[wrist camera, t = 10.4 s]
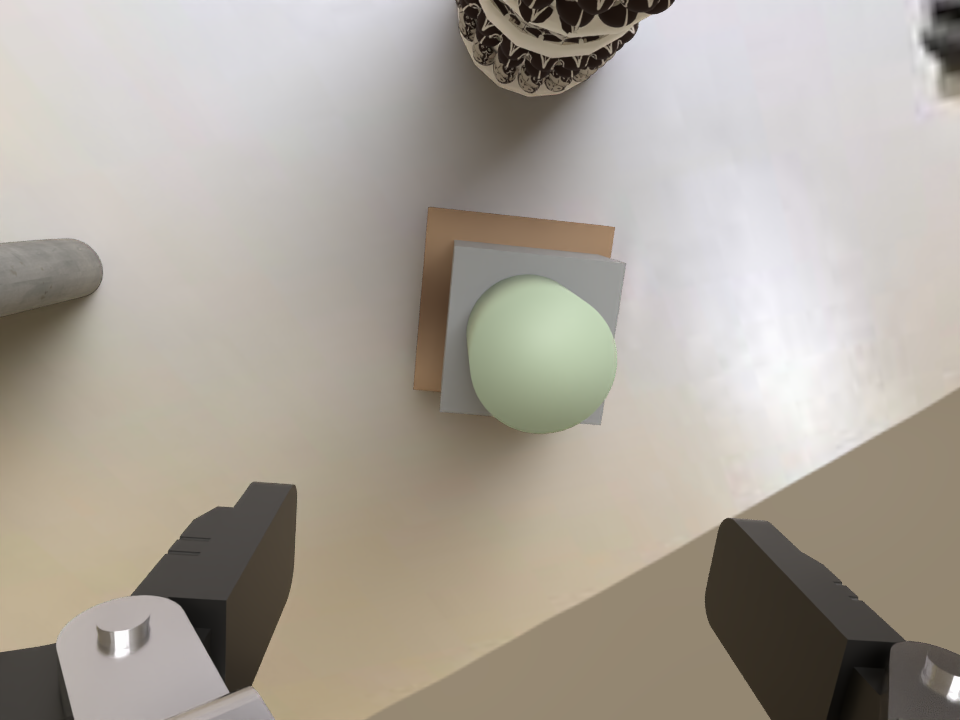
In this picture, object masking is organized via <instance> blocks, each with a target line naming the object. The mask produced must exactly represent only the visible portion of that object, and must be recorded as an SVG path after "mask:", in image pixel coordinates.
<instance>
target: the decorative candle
mask: <svg viewBox="0 0 960 720" xmlns="http://www.w3.org/2000/svg"><path fill="white" fill-rule="evenodd" d="M455 1H456V4H457V8H458V19H459V30H460V35H461V37H462V39H463V41H464V43H465V45H466V47H467V50H468V52H469V54H470V56H471V58H472V60H473V62H474V64H475V65H476V66H477V67H478V68H479V69H480V70H481V71H482V72H483V73H484V74H486V75H487V76H488V77H489V78H490V79H491V80H492V81H493V82H494V83H495V84H497V85H498V86H499V87H501V88H504V89H507V90H510V91H513V92H516V93H519V94H522V95H524V96H527V97H534V96H545V95H556V94H561V93H563V92H564V91H566V90H568V89H570V88H572V87H574V86H575V85H577V84H579V83H581V82H583V81H586V80H587V79H588V78H589V77H590V76H591V75H592V74H594V73H595V72H596V71H597V70H598V68H600V67H602V66H604V64H605V63H606V62H607V61H608V60H610V59H611V58H612V57H613V56H614V55H615V53H616V51H618V50H619V49H621V48H622V47H623V45H624V44H625V43H626V42H628V41H630V40H631V39H632V38H633V37H634V35H635V34H636V32H637V29H638V25H639V22H640V21H641V20H643V19H645V18H647V17H649V16H650V15H652V14H658V13H661V12H663V11H665V10H666V9H668V8H669V7H670V6H671V5H672V4H673V2H674V1H675V0H455Z"/></svg>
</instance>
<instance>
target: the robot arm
mask: <svg viewBox="0 0 960 720" xmlns="http://www.w3.org/2000/svg"><path fill="white" fill-rule="evenodd" d="M296 510H297V490H296V486H295V485H291V484H277V483H264V482H252V483H251V484H250V486H249V487H248V488H247V490H246V491H245V492H244V494H243V495H242V497H241V498H240V499H239V501H238V502H237V503H236V505H235V506H234V508H232V507H216V508H214V509H212V510H211V511H209V512H207V513H205V514H203V515H202V516H200V517H198V518H196V519H194V520H193V521H192V523H191V524H190V525H189V526H188V527H187V529H186V530H185V531H184V532H183V533H182V535H181V536H180V539H179V540H177V541H176V542H175V543H174V544H173V545H172V547H171V548H170V549H169V550H168V554H165V555H164V556H163V557H162V559H161V560H160V561H159V562H158V563H157V565H156V566H155V567H154V568H153V569H152V571H151V572H150V573H149V574H148V575H147V577H146V578H145V579H144V580H143V581H142V583H141V584H140V585H139V586H138V587H137V589H136V590H135V591H134V592H133V593H132V595H131V596H129V597H122V598H118V599H114V600H110V601H107V602H104V603H101V604H99V605H96V606H94V607H91V608H90V609H88V610H86V611H84V612H82V613H81V614H79V615H78V616H76V617H75V618H73V619H72V620H71V621H70V622H69V623H67V624H66V626H65V627H64V628H63V629H62V630H61V632H60V634H59V636H58V638H57V642H56V643H54V644H50V645H45V646H40V647H34V648H27V649H20V650H13V651H7V652H0V720H275V719H274V717H273V716H272V714H271V712H270V711H269V709H268V708H267V706H266V704H265V703H264V701H263V699H262V698H261V696H260V695H259V693H258V692H257V691H256V690H255V689H254V688H253V687H251V686H252V683H253V681H254V678H255V676H256V674H257V671H258V669H259V666H260V664H261V662H262V659H263V657H264V654H265V652H266V650H267V647H268V645H269V642H270V640H271V637H272V635H273V633H274V630H275V628H276V625H277V623H278V621H279V618H280V616H281V613H282V611H283V608H284V606H285V604H286V601H287V599H288V595H289V592H290V588H291V583H292V577H293V569H294V554H295V532H296ZM705 608H706V614H707V618H708V621H709V624H710V626H711V628H712V629H713V631H714V632H715V634H716V635H717V637H718V638H719V640H720V642H721V643H722V645H723V646H724V648H725V649H726V650H727V652H728V654H729V655H730V657H731V659H732V660H733V662H734V663H735V665H736V666H737V668H738V669H739V671H740V672H741V674H742V675H743V677H744V679H745V680H746V682H747V683H748V685H749V686H750V688H751V689H752V691H753V692H754V694H755V696H756V697H757V699H758V700H759V702H760V703H761V705H762V706H763V708H764V709H765V711H766V712H767V714H768V716H769V717H770V719H771V720H960V655H958V654H956V653H953V652H951V651H949V650H947V649H944V648H941V647H938V646H934V645H931V644H927V643H921V642H912V641H905V640H904V639H903V638H902V637H901V636H900V635H899V634H898V633H897V632H896V631H894V629H892V628H891V627H890V626H889V625H888V624H887V623H886V622H885V621H884V620H883V619H882V618H880V617H879V616H878V615H877V614H876V613H875V612H874V611H873V610H872V609H871V608H870V607H869V606H867V605H866V604H865V603H864V602H863V601H859V600H858V597H857V595H855V594H854V593H853V592H852V591H851V590H850V589H849V588H848V587H847V586H843V585H842V582H841V581H840V580H839V579H838V578H837V577H836V576H835V575H834V574H833V573H832V572H830V571H829V570H828V569H827V568H826V567H825V566H824V565H823V564H821V563H819V562H818V561H816V560H814V559H813V558H811V557H809V556H807V555H806V554H804V553H802V552H801V551H799V550H798V549H797V548H796V547H795V546H794V545H793V544H792V543H791V542H790V541H789V540H788V539H787V538H786V537H785V536H783V535H782V533H780V532H779V531H778V530H777V529H776V528H775V527H774V526H773V525H772V524H771V523H769V522H768V521H761V520H748V519H735V518H726V519H725V520H723V522H722V523H721V525H720V527H719V530H718V534H717V539H716V544H715V549H714V553H713V558H712V563H711V568H710V573H709V577H708V582H707V587H706V593H705Z"/></svg>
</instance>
